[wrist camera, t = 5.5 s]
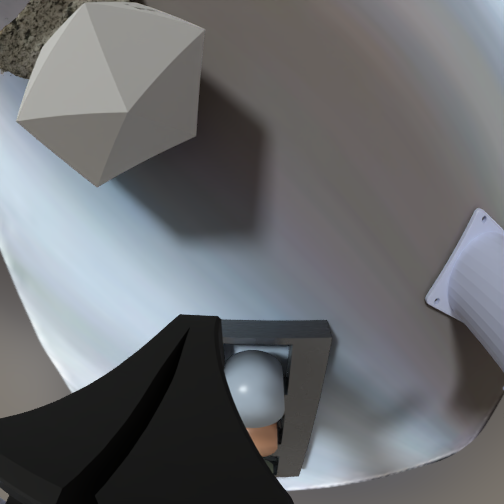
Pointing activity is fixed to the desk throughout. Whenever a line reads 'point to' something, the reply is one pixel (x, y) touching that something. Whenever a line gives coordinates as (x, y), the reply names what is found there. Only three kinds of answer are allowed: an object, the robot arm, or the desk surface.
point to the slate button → (256, 387)
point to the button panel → (291, 379)
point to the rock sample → (34, 33)
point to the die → (115, 88)
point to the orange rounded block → (264, 439)
